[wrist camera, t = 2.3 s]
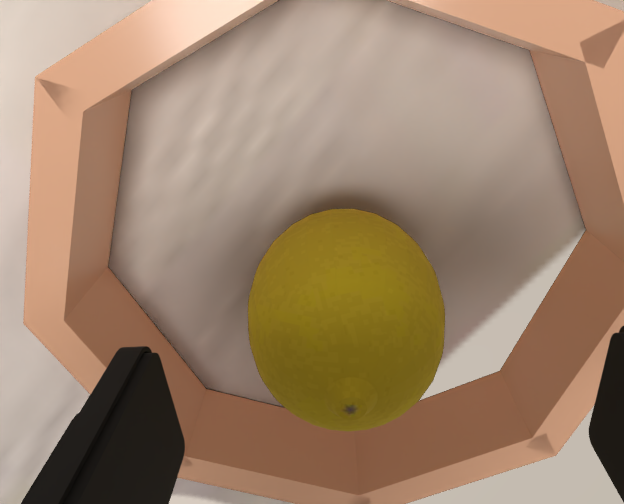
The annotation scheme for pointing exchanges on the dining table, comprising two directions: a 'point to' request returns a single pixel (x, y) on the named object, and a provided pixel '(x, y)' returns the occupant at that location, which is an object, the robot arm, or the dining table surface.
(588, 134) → the collar
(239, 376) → the dining table surface
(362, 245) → the lemon
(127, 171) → the dining table surface
